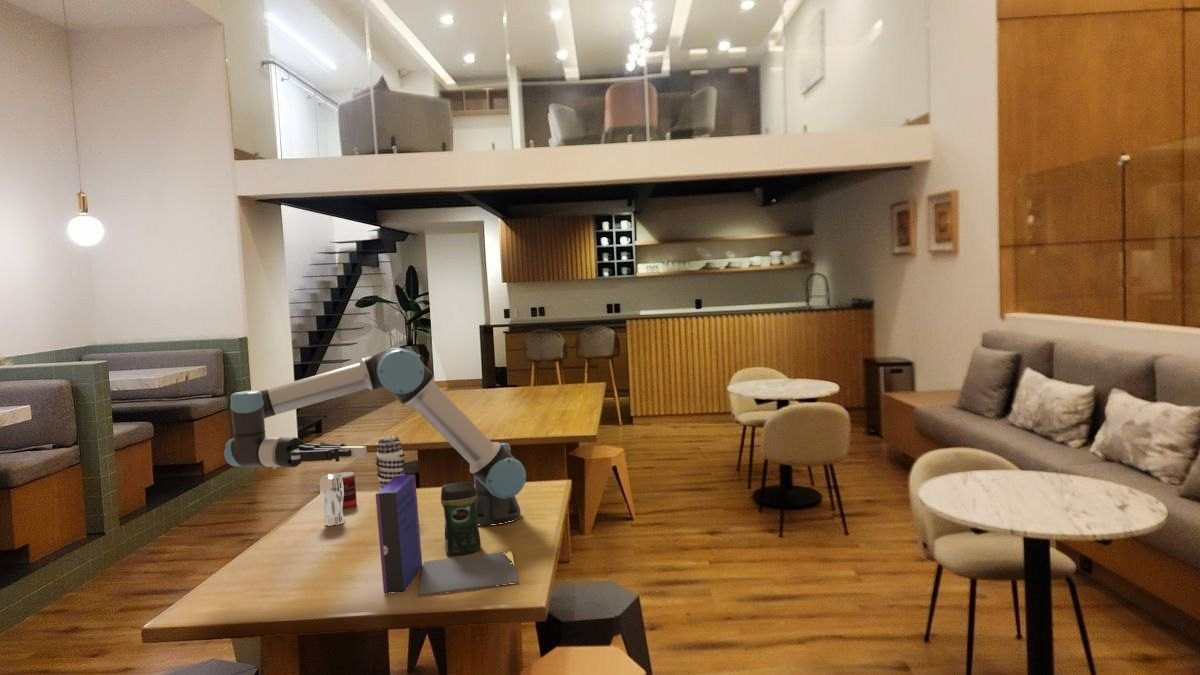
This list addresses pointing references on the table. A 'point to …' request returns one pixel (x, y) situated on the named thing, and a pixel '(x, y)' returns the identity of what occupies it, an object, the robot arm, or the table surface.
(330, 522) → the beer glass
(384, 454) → the decorative candle
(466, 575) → the flat gray object
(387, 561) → the cereal box
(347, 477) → the canned food
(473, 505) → the coffee jar
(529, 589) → the table surface
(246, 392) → the robot arm
